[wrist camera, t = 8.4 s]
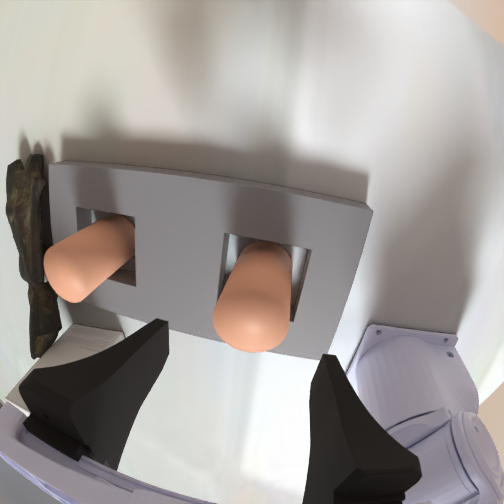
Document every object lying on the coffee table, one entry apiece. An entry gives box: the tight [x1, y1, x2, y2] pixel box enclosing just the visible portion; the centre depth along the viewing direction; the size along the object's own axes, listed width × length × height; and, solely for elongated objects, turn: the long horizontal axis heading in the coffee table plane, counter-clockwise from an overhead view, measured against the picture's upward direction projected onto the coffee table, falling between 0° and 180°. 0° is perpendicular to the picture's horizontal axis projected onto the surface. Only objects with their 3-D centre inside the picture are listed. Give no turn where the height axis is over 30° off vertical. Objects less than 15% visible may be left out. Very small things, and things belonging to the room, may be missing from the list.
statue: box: [6, 154, 62, 359], centre depth 22 cm, size 6×6×20 cm
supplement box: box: [6, 324, 125, 417], centre depth 22 cm, size 7×7×13 cm
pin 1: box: [44, 214, 135, 303], centre depth 19 cm, size 4×4×7 cm
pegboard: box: [49, 161, 373, 360], centre depth 21 cm, size 24×12×2 cm, turn 82°
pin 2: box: [212, 241, 292, 352], centre depth 18 cm, size 4×4×7 cm
